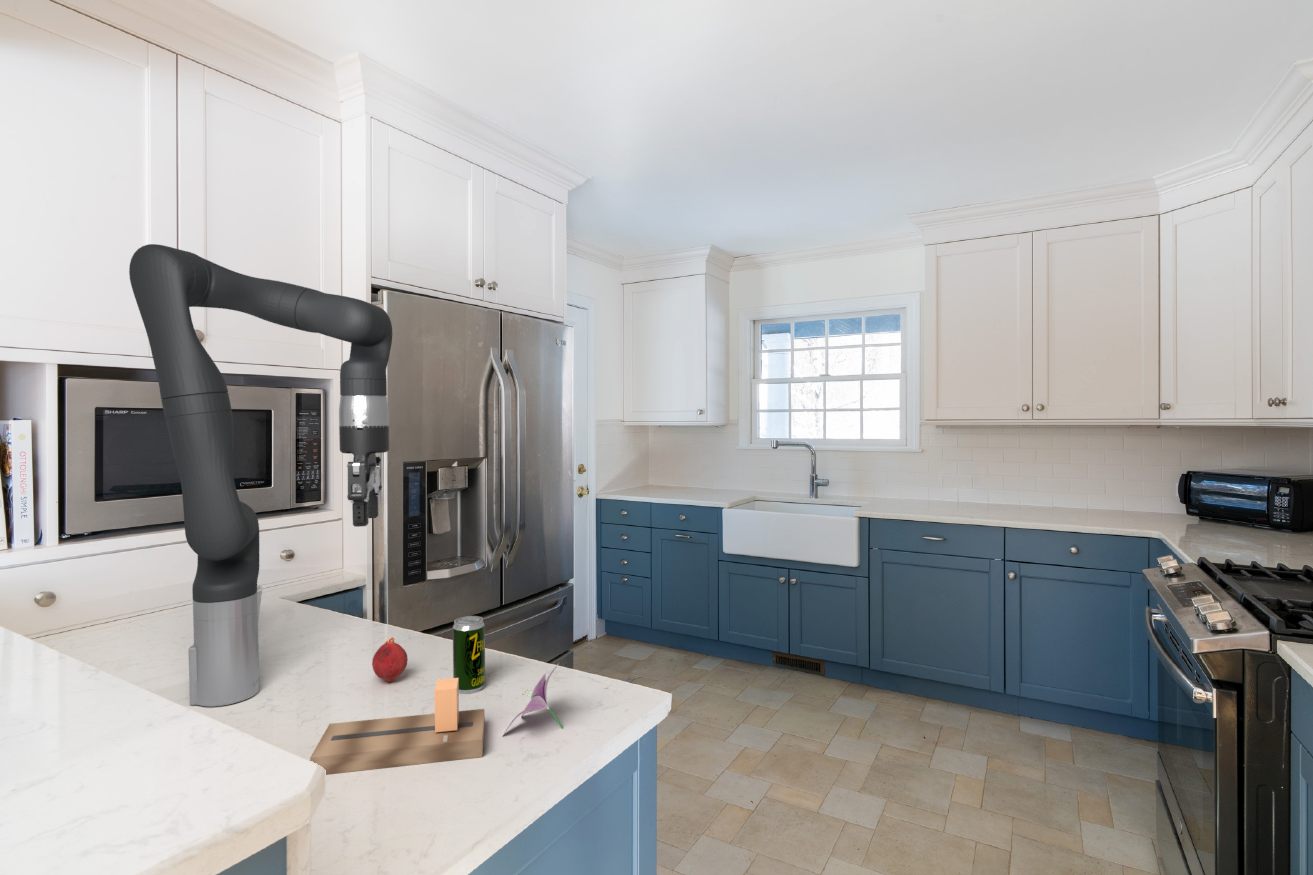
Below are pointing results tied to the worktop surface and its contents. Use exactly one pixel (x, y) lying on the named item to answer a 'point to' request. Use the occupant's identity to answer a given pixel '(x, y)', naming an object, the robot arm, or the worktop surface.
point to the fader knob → (446, 704)
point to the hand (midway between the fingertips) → (366, 521)
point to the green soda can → (469, 653)
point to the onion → (389, 660)
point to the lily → (538, 699)
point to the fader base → (398, 742)
